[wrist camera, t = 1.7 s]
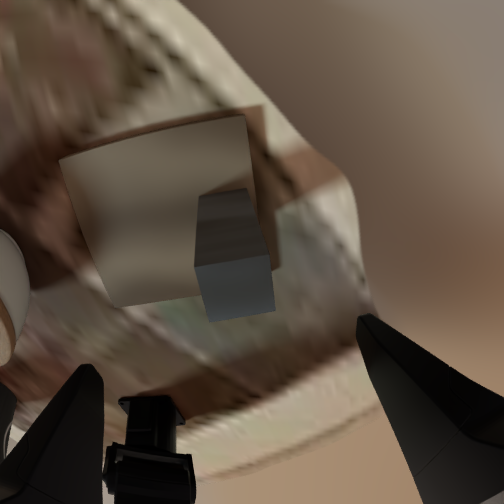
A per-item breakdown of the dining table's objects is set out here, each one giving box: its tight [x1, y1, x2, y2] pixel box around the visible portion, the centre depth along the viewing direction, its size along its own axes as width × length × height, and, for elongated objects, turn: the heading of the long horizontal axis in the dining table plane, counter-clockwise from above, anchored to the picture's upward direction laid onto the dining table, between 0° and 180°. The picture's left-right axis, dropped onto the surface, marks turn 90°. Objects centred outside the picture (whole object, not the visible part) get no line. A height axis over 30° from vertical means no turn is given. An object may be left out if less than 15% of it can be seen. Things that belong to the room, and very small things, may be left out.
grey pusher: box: [59, 114, 276, 322], centre depth 17 cm, size 12×12×10 cm
